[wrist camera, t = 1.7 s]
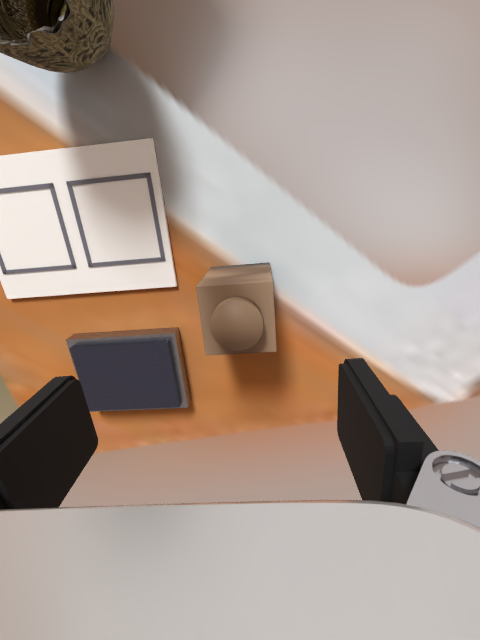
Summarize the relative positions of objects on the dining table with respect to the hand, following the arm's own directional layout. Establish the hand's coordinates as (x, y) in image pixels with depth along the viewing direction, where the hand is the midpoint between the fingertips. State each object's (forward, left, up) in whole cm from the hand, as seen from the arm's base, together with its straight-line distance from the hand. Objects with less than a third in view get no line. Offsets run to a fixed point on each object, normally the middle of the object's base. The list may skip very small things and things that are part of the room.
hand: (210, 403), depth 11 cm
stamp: (0, 0, -14) cm, 14 cm away
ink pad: (+10, +6, -14) cm, 18 cm away
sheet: (+11, -6, -14) cm, 19 cm away
